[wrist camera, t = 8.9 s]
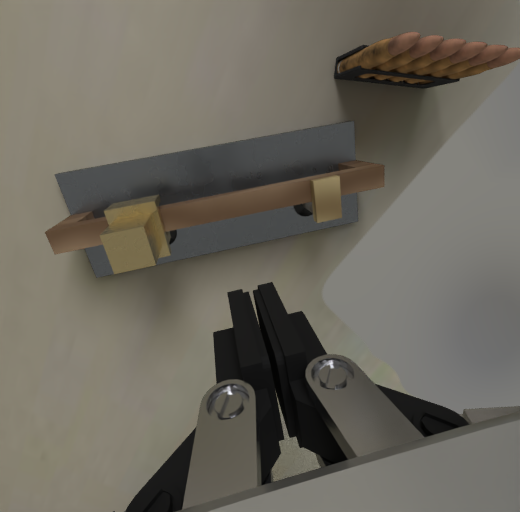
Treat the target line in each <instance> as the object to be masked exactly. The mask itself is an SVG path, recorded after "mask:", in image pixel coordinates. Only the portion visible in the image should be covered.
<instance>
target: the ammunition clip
mask: <svg viewBox="0 0 520 512" xmlns="http://www.w3.org/2000/svg"><path fill="white" fill-rule="evenodd" d="M419 38H420V34H419V33H417V32H407V33H404V34H400V35H398V36H395V37H392V38H390V39H384V40H381V41H378V42H376V43H374V44H372V45H370V46H367V45H362V46H360V47H358V48H356V49H354V50H352V51H350V52H348V53H346V54H343V55H341V56H339V57H337V58H336V66H335V73H334V78H335V79H344V80H353V81H362V82H371V83H380V84H389V85H398V86H407V87H416V88H429V87H434V86H439V85H443V84H448V83H453V82H457V81H459V80H460V78H463V77H468V76H472V75H476V74H480V73H482V72H484V71H486V70H490V69H493V68H496V67H500V66H503V65H506V64H509V63H511V62H514V61H516V60H518V59H520V48H508V47H507V46H504V45H489V46H487V44H486V43H484V42H469V43H466V41H465V40H463V39H449V40H444V38H443V37H442V36H438V35H432V36H427V37H423V38H420V39H419ZM443 40H444V41H443Z"/></svg>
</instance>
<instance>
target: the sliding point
mask: <svg viewBox="0 0 520 512" xmlns="http://www.w3.org/2000/svg"><path fill="white" fill-rule="evenodd" d="M160 202H161V200H160V196H159V195H153V196H148V197H143V198H138V199H133V200H127V201H122V202H117V203H113V204H112V205H110V206H109V207H108V208H107V209H105V210H104V213H105V216H106V219H107V222H108V224H109V226H108V227H107V228H106V229H105V230H104V231H103V232H102V233H101V234H100V238H101V241H102V243H103V246H104V249H105V251H106V254H107V256H108V259H109V262H110V264H111V267H112V270H113V272H114V274H118V273H122V272H127V271H131V270H136V269H141V268H145V267H150V266H155V265H156V264H157V261H158V258H161V257H166V256H170V255H171V252H172V251H171V248H170V244H169V242H170V238H171V235H170V231H167V232H166V231H165V227H164V224H163V220H162V217H161V214H160V210H159V207H158V205H159V203H160Z"/></svg>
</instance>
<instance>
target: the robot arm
mask: <svg viewBox="0 0 520 512" xmlns="http://www.w3.org/2000/svg"><path fill="white" fill-rule="evenodd" d="M227 293H228V299H229V304H230V310H231V316H232V321H233V328H229V329H225V330H221V331H217V332H214V333H213V337H214V352H215V366H216V381H217V384H216V385H214V386H213V387H212V388H211V389H209V390H208V391H207V392H206V394H205V395H204V397H203V399H202V401H201V404H200V410H199V415H198V421H197V427H196V428H195V429H194V430H193V431H192V433H191V434H190V435H189V436H188V437H187V438H186V439H185V440H184V442H183V443H182V444H181V445H180V446H179V447H178V448H177V450H176V451H175V452H174V453H173V454H172V455H171V456H170V457H169V459H168V460H167V461H166V462H165V463H164V464H163V465H162V466H161V468H160V469H159V470H158V471H157V472H156V473H155V474H154V475H153V477H152V478H151V479H150V480H149V481H148V482H147V483H146V485H145V486H144V487H143V488H142V489H141V490H140V491H139V492H138V494H137V495H136V496H135V497H134V499H133V500H132V501H131V503H130V504H129V506H128V507H127V509H126V511H124V512H520V406H515V407H497V408H479V409H464V411H463V414H457V413H456V412H454V411H452V410H450V409H448V408H445V407H443V406H440V405H437V404H434V403H431V402H428V401H425V400H422V399H419V398H416V397H413V396H410V395H407V394H404V393H401V392H398V391H395V390H392V389H389V388H386V387H383V386H380V385H377V384H374V383H373V382H372V381H371V380H370V378H369V377H368V376H367V375H366V374H365V373H364V372H363V371H362V370H361V369H360V368H359V367H358V366H357V365H356V363H354V362H353V361H352V360H350V359H349V358H346V357H344V356H341V355H336V354H328V355H327V353H326V352H325V350H324V348H323V346H322V345H321V343H320V341H319V339H318V338H317V336H316V334H315V332H314V331H313V329H312V327H311V325H310V324H309V322H308V320H307V318H306V317H305V315H304V313H303V312H302V311H300V312H296V313H291V314H287V312H286V310H285V307H284V305H283V303H282V301H281V299H280V297H279V295H278V293H277V291H276V289H275V287H274V285H273V283H272V282H271V283H267V284H262V285H258V290H253V294H254V300H255V305H256V310H257V315H258V320H259V324H258V321H257V318H256V314H255V311H254V308H253V305H252V301H251V298H250V295H249V292H245V293H243V291H242V289H240V290H236V291H232V292H227ZM259 326H260V327H259ZM275 390H276V392H275ZM276 393H277V397H278V400H279V403H280V407H281V410H282V414H283V417H284V420H285V424H286V427H287V431H288V434H289V437H290V438H291V437H295V436H296V437H297V440H298V444H299V447H300V448H302V447H304V448H306V449H308V450H310V451H312V452H314V453H316V457H317V460H318V463H319V465H320V467H321V468H319V469H316V470H312V471H309V472H305V473H302V474H299V475H295V476H292V477H289V478H285V479H282V480H279V481H275V482H274V481H273V473H272V467H273V466H274V464H275V462H276V461H277V459H278V457H279V455H280V454H281V451H280V446H279V441H281V440H284V435H283V429H282V424H281V418H280V413H279V408H278V402H277V397H276ZM113 512H115V511H113Z"/></svg>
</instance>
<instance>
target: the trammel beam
mask: <svg viewBox="0 0 520 512" xmlns="http://www.w3.org/2000/svg"><path fill="white" fill-rule="evenodd" d="M338 167H339V171H336V172H331V173H325V174H320V175H315V176H310V177H305V178H300V179H295V180H290V181H285V182H280V183H275V184H269V185H264V186H259V187H254V188H249V189H244V190H239V191H234V192H229V193H224V194H218V195H213V196H208V197H203V198H198V199H193V200H188V201H183V202H178V203H173V204H167V205H162V206H158V207H159V210H160V214H161V217H162V220H163V224H164V227H165V231H166V232H167V231H171V230H176V229H181V228H186V227H191V226H196V225H201V224H206V223H210V222H215V221H220V220H225V219H230V218H235V217H240V216H245V215H249V214H254V213H259V212H264V211H269V210H274V209H279V208H284V207H288V206H293V205H298V204H302V205H303V207H305V208H306V209H307V210H309V211H310V212H312V213H313V218H314V221H315V222H317V223H320V222H325V221H329V220H334V219H339V218H342V208H341V196H342V195H347V194H352V193H357V192H362V191H366V190H371V189H376V188H381V187H384V165H380V164H374V163H368V162H363V161H357V160H355V161H349V162H344V163H339V164H338ZM108 226H109V224H108V222H107V219H106V217H101V218H96V219H95V218H94V216H93V213H92V211H91V212H86V213H81V214H75V215H71V216H69V217H68V218H66V219H65V220H63V221H62V222H60V223H58V224H57V225H55V226H54V227H52V228H51V229H49V230H48V231H46V232H45V234H46V236H47V238H48V240H49V242H50V245H51V247H52V249H53V251H54V254H59V253H64V252H69V251H74V250H79V249H84V248H89V247H93V246H98V245H103V243H102V241H101V238H100V234H101V233H102V232H103V231H104V230H105V229H106V228H107V227H108Z"/></svg>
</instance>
